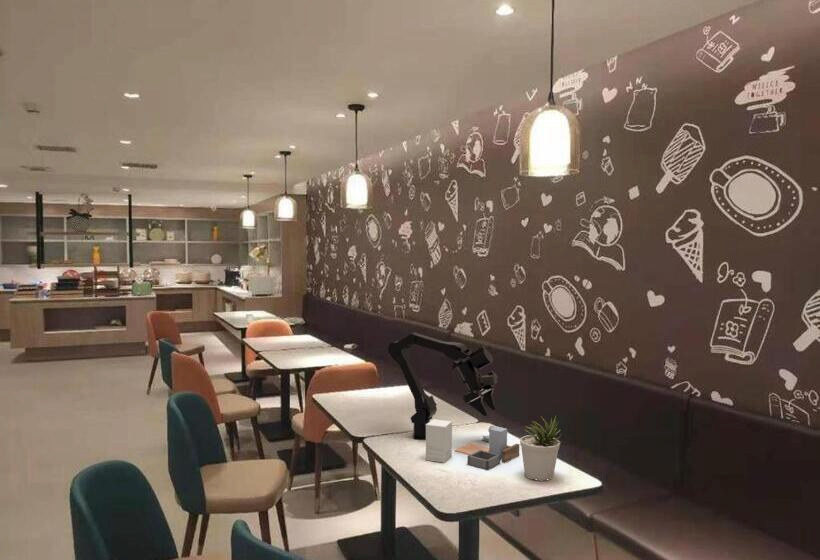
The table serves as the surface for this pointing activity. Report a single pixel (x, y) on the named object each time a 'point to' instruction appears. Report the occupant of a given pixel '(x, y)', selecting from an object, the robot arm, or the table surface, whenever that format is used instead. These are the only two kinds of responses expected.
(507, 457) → the walnut bracket
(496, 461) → the dark grey open box
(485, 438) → the pacifier
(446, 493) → the table surface
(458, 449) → the pad
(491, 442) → the slate block
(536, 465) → the potted plant
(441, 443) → the supplement box
